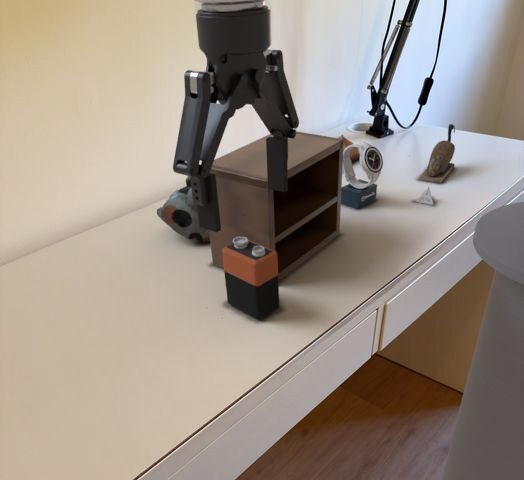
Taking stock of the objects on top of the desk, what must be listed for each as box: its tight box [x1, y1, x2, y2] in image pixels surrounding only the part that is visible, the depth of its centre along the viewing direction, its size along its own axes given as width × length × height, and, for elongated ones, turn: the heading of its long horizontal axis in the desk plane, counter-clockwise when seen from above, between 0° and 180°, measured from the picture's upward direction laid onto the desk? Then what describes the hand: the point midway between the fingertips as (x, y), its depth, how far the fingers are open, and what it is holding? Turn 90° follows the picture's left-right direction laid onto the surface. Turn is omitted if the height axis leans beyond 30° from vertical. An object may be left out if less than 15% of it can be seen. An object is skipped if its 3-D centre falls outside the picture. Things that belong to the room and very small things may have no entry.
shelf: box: [209, 130, 344, 282], centre depth 84 cm, size 12×20×16 cm, turn 143°
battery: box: [222, 237, 280, 320], centre depth 73 cm, size 4×7×10 cm, turn 45°
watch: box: [341, 141, 384, 210], centre depth 99 cm, size 6×8×11 cm
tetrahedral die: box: [415, 186, 435, 206], centre depth 101 cm, size 4×3×3 cm
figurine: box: [419, 123, 456, 184], centre depth 110 cm, size 14×4×9 cm, turn 149°
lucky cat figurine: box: [156, 176, 210, 243], centre depth 93 cm, size 15×12×14 cm
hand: (246, 208), depth 66 cm, fingers open, 13 cm apart
